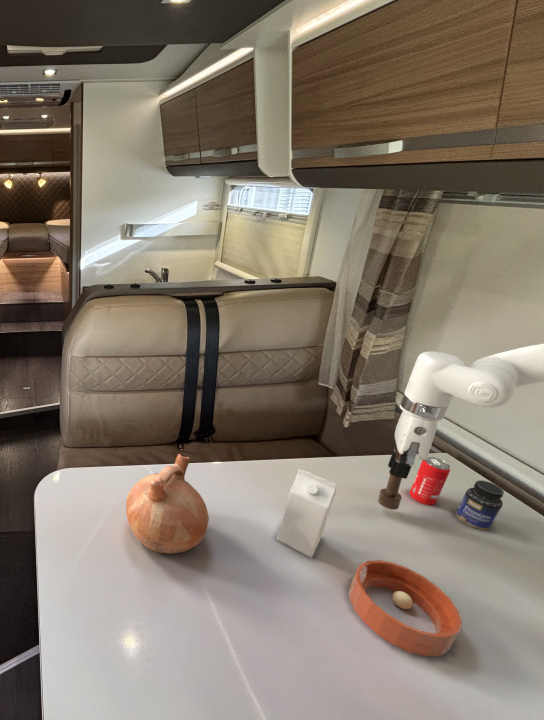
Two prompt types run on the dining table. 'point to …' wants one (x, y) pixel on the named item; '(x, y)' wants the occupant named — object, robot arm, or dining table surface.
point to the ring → (420, 593)
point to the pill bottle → (480, 505)
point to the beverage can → (429, 480)
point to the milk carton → (306, 512)
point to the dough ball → (402, 600)
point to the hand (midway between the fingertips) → (397, 471)
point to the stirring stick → (391, 492)
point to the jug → (167, 510)
